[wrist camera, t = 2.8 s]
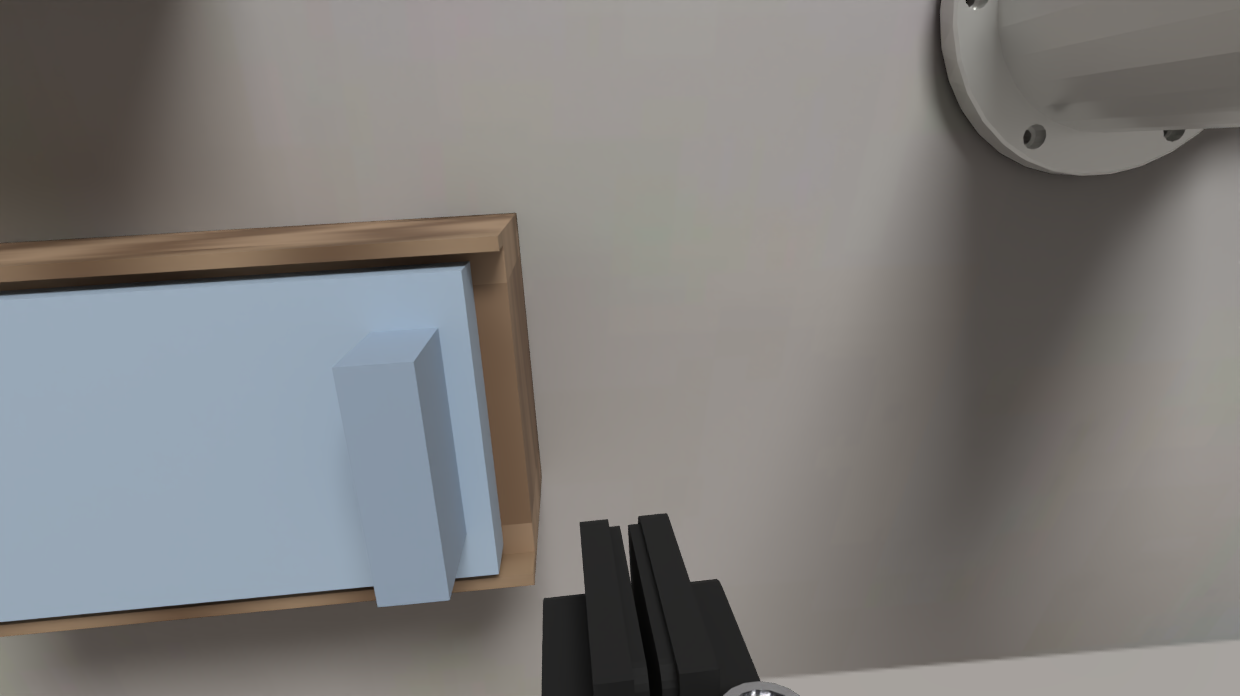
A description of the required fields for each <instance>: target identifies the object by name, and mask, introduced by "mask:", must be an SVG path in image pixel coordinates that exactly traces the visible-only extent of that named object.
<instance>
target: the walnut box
mask: <svg viewBox="0 0 1240 696" xmlns="http://www.w3.org/2000/svg"><path fill="white" fill-rule="evenodd" d="M464 261H470V268H471V277H472V285H473V293H474V302H475V310H476V318H477V327H478V335H479V344H480V352H481V360H482V369H483V377H484V385H485V394H486V402H487V410H488V419H489V427H490V436H491V444H492V452H493V461H494V469H495V477H496V486H497V494H498V502H499V511H500V519H501V527H502V536H503V551H502V557H501V564H500V570H499V574H496V575H485V576H475V577H464V578H455V582H454V586H453V590H452V593H456V592H466V591H476V590H486V589H497V588H507V587H517V586H527V585H535V570H536V555H537V539H538V524H539V509H540V494H541V479H542V475H541V465H540V454H539V444H538V434H537V423H536V413H535V402H534V392H533V382H532V371H531V361H530V351H529V340H528V330H527V319H526V309H525V299H524V288H523V278H522V268H521V257H520V247H519V236H518V226H517V216H516V213H506V214H489V215H472V216H455V217H438V218H421V219H404V220H387V221H370V222H354V223H337V224H320V225H303V226H286V227H269V228H252V229H235V230H218V231H201V232H184V233H167V234H150V235H133V236H116V237H99V238H82V239H65V240H49V241H32V242H15V243H0V291H8V290H24V289H40V288H56V287H71V286H87V285H103V284H118V283H134V282H150V281H166V280H181V279H197V278H213V277H228V276H244V275H260V274H275V273H291V272H307V271H323V270H338V269H354V268H370V267H385V266H401V265H417V264H433V263H448V262H464ZM373 600H376V596H375V591H374V586H371V587H360V588H350V589H339V590H329V591H319V592H308V593H298V594H287V595H277V596H266V597H256V598H246V599H235V600H225V601H214V602H204V603H193V604H183V605H173V606H162V607H152V608H141V609H131V610H121V611H110V612H100V613H89V614H79V615H68V616H58V617H48V618H37V619H27V620H16V621H6V622H0V637H4V636H14V635H24V634H35V633H45V632H55V631H65V630H76V629H86V628H96V627H107V626H117V625H127V624H137V623H148V622H158V621H168V620H178V619H189V618H199V617H209V616H219V615H230V614H240V613H250V612H260V611H271V610H281V609H291V608H302V607H312V606H322V605H332V604H343V603H353V602H363V601H373Z"/></svg>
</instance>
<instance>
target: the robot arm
mask: <svg viewBox="0 0 1240 696" xmlns="http://www.w3.org/2000/svg"><path fill="white" fill-rule="evenodd" d="M940 24H941V48H942V52H943V57H944V61H945V66H946V70H947V75H948V79H949V82H950V85H951V87H952V89H953V91H954V94H955V96H956V98H957V101H958V103H959V105H960V108H961V110H962V111H963V113H964V114H965V115H966V117H967V118H968V120H969V121H970V122H971V124H972V125H973V127H974V128H975V129H976V131H977V132H978V134H979V135H980V136H982V137H983V138H984V139H985V140H986V141H987V142H988V143H989V144H991V145H992V146H993V147H994V148H995V149H996V150H997V151H998V152H1000V153H1001V154H1003V155H1005V156H1007V157H1008V158H1010V159H1012V160H1014V161H1016V162H1018V163H1019V164H1021V165H1023V166H1025V167H1029V168H1033V169H1036V170H1040V171H1044V172H1047V173H1051V174H1065V175H1078V176H1086V175H1103V174H1113V173H1117V172H1121V171H1125V170H1129V169H1132V168H1136V167H1140V166H1143V165H1145V164H1147V163H1149V162H1152V161H1154V160H1156V159H1158V158H1160V157H1162V156H1165V155H1167V154H1169V153H1171V152H1173V151H1174V150H1176V149H1177V148H1178V147H1180V146H1181V145H1183V144H1184V143H1186V142H1187V141H1189V140H1190V139H1192V138H1193V137H1195V136H1196V135H1198V134H1199V133H1200V132H1201V131H1202V130H1204V129H1205V128H1230V127H1240V0H968V3H967V4H966V0H941V7H940ZM580 533H581V546H582V558H583V571H584V584H585V594H578V595H569V596H560V597H551V598H544V600H543V641H542V696H800V695H798V694H796V693H795V692H794V691H792V690H791V689H789V688H786V687H783V686H780V685H778V684H775V683H769V682H761V681H760V679H759V676H758V674H757V672H756V669H755V667H754V664H753V662H752V659H751V657H750V654H749V652H748V649H747V647H746V644H745V642H744V640H743V637H742V635H741V632H740V630H739V627H738V625H737V622H736V620H735V617H734V615H733V612H732V610H731V608H730V605H729V603H728V600H727V598H726V595H725V593H724V590H723V588H722V586H721V584H720V582H719V580H717V579H713V580H704V581H695V582H690V580H689V577H688V574H687V571H686V568H685V565H684V562H683V559H682V556H681V553H680V550H679V547H678V544H677V541H676V538H675V535H674V532H673V529H672V526H671V523H670V520H669V517H668V515H667V514H666V513H665V514H655V515H645V516H639V517H638V524H633V525H628V536H629V554H630V572H631V582H630V577H629V571H628V566H627V561H626V556H625V551H624V545H623V540H622V535H621V530H620V526H614V527H609V523H608V519H606V520H596V521H586V522H580Z"/></svg>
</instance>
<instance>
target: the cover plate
mask: <svg viewBox="0 0 1240 696" xmlns="http://www.w3.org/2000/svg"><path fill="white" fill-rule="evenodd" d="M502 551H503V536H502V527H501V519H500V511H499V502H498V494H497V486H496V477H495V469H494V461H493V452H492V444H491V436H490V427H489V419H488V410H487V402H486V394H485V385H484V377H483V369H482V360H481V352H480V344H479V335H478V327H477V318H476V310H475V302H474V293H473V285H472V277H471V268H470V261H464V262H448V263H433V264H417V265H401V266H385V267H370V268H354V269H338V270H323V271H307V272H291V273H275V274H260V275H244V276H228V277H213V278H197V279H181V280H166V281H150V282H134V283H118V284H103V285H87V286H71V287H56V288H40V289H24V290H8V291H0V622H6V621H16V620H27V619H37V618H48V617H58V616H68V615H79V614H89V613H100V612H110V611H121V610H131V609H141V608H152V607H162V606H173V605H183V604H193V603H204V602H214V601H225V600H235V599H246V598H256V597H266V596H277V595H287V594H298V593H308V592H319V591H329V590H339V589H350V588H360V587H371V586H374V591H375V596H376V601H377V606H378V607H386V606H396V605H407V604H417V603H427V602H437V601H447V600H450V598H451V594H452V590H453V586H454V582H455V578H464V577H475V576H485V575H496V574H499V570H500V564H501V557H502Z"/></svg>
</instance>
